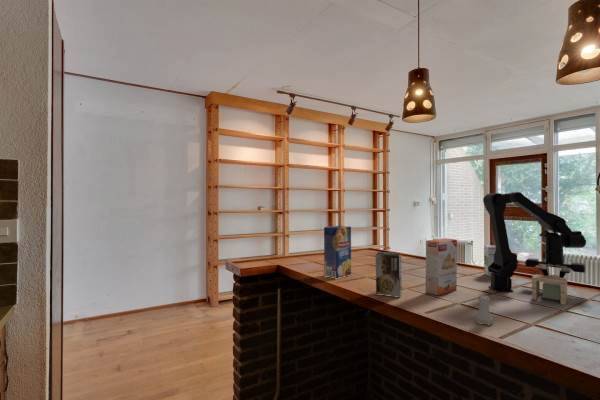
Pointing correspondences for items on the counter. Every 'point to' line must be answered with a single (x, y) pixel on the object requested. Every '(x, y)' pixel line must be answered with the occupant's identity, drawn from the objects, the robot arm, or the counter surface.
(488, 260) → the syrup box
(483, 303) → the rook chess piece
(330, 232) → the blue food box
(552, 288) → the tethered block
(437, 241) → the cracker box
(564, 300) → the shelf lane
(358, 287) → the counter surface
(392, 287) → the coffee box
